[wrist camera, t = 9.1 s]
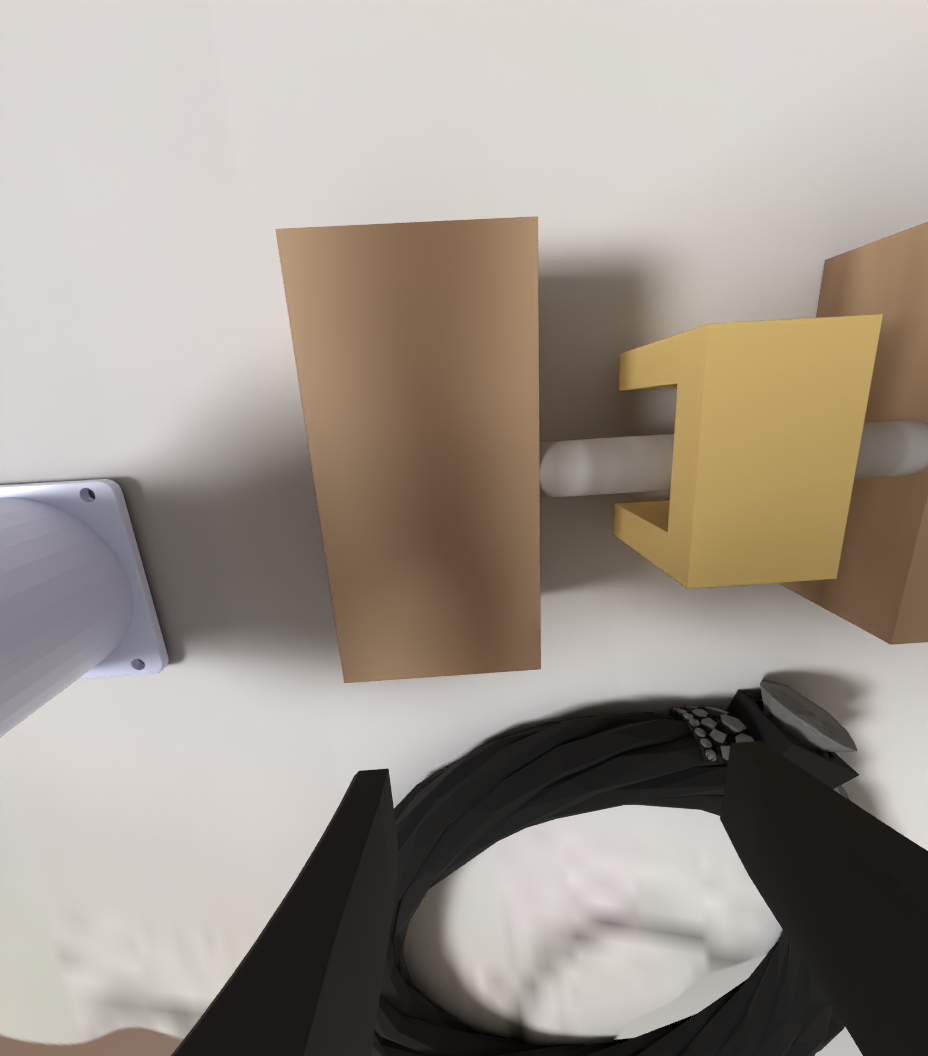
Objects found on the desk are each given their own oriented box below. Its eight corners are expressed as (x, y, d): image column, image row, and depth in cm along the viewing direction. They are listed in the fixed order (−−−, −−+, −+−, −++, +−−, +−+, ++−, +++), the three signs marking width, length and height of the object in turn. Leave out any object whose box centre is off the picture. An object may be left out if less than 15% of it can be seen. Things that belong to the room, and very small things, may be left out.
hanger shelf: (371, 608, 18) (344, 683, 13) (331, 285, 15) (275, 229, 10) (913, 571, 19) (1076, 631, 14) (994, 251, 15) (1244, 182, 10)
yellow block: (613, 534, 16) (686, 589, 11) (620, 353, 15) (708, 323, 10) (718, 528, 17) (836, 578, 12) (736, 347, 15) (883, 314, 10)
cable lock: (228, 1095, 21) (540, 588, 14) (260, 993, 25) (521, 550, 18) (684, 1201, 26) (1088, 854, 19) (654, 1101, 29) (984, 780, 23)
